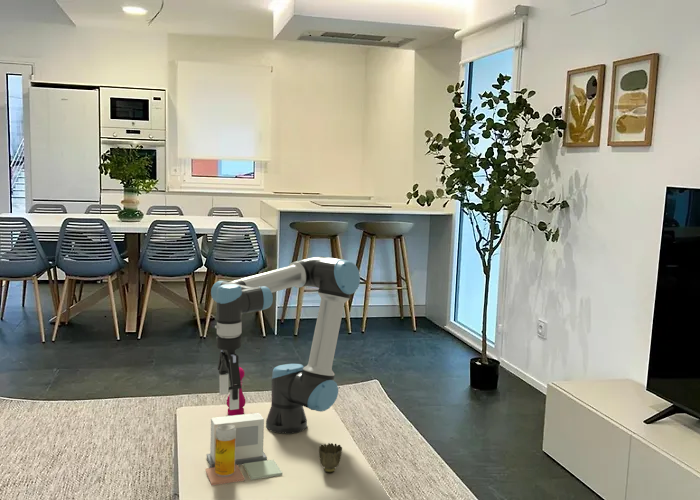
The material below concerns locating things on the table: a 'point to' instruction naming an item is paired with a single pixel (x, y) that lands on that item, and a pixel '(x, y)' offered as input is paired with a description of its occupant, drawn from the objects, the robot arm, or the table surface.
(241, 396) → the pepper mill
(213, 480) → the terracotta pad
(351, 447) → the table surface
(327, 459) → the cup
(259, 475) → the sage pad
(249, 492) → the table surface
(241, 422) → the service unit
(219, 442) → the beer can
